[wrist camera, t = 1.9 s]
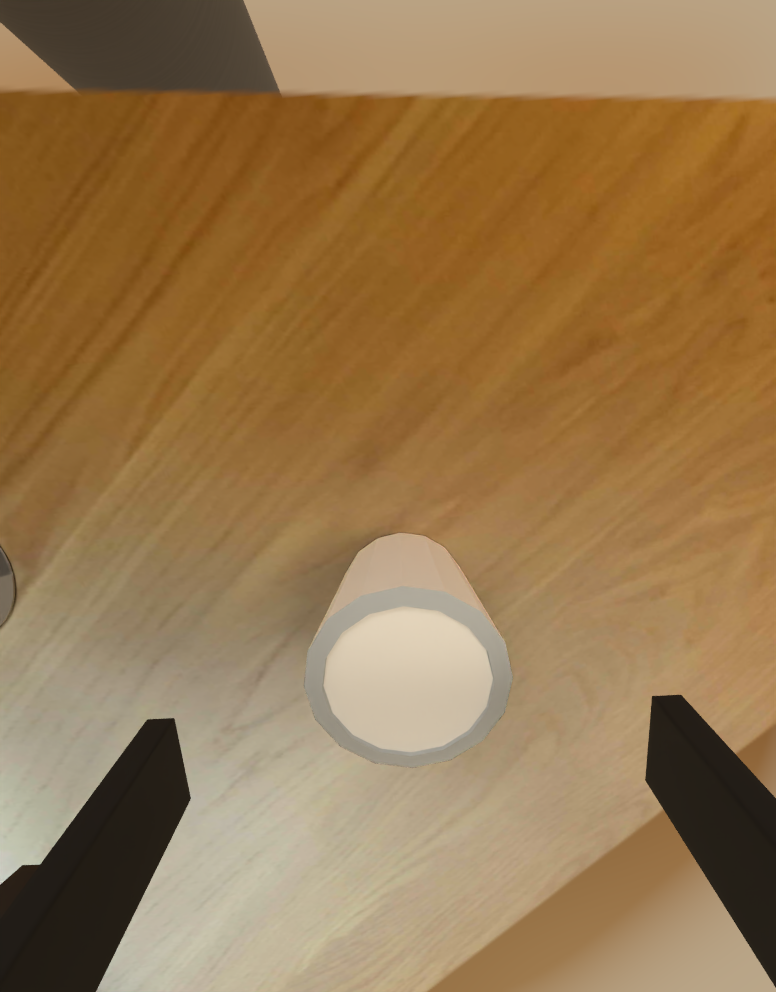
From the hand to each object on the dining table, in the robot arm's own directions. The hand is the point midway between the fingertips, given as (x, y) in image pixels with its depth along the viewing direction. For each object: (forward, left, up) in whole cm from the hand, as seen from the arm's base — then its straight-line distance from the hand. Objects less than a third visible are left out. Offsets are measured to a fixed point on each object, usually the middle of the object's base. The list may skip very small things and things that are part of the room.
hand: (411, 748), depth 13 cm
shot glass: (0, 0, -10) cm, 10 cm away
